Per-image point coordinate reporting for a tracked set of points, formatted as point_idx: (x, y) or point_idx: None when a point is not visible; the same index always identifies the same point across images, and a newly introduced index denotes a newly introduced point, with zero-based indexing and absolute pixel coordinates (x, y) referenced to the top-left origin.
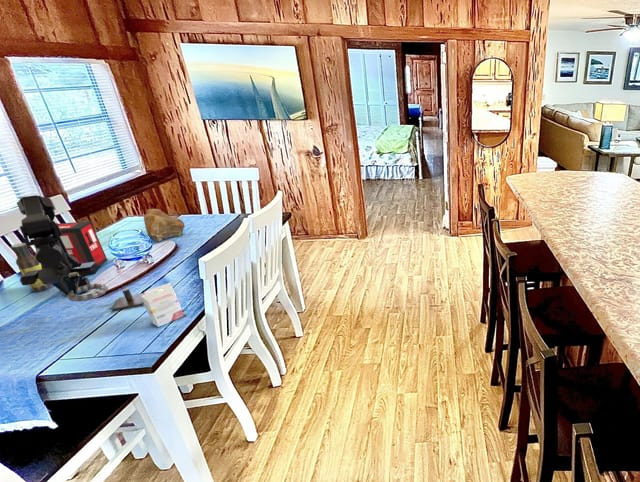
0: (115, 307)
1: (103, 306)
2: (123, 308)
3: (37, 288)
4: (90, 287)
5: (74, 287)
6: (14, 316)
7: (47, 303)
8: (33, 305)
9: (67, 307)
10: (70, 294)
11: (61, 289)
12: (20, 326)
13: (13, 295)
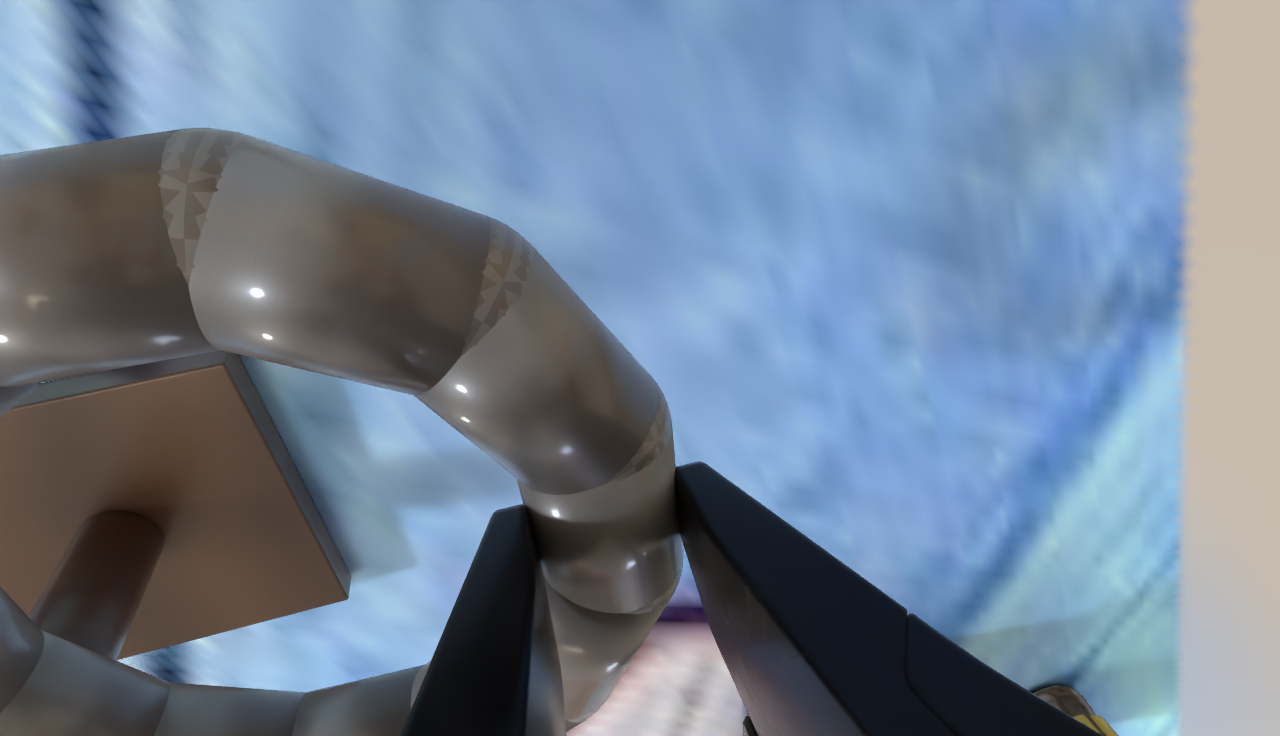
0: (198, 396)
1: (455, 468)
2: (90, 377)
3: (1061, 709)
4: (353, 727)
5: (443, 698)
6: (1149, 410)
7: (971, 559)
8: (1051, 542)
9: (810, 490)
10: (548, 432)
11: (812, 598)
12: (1105, 222)
13: (1157, 650)
